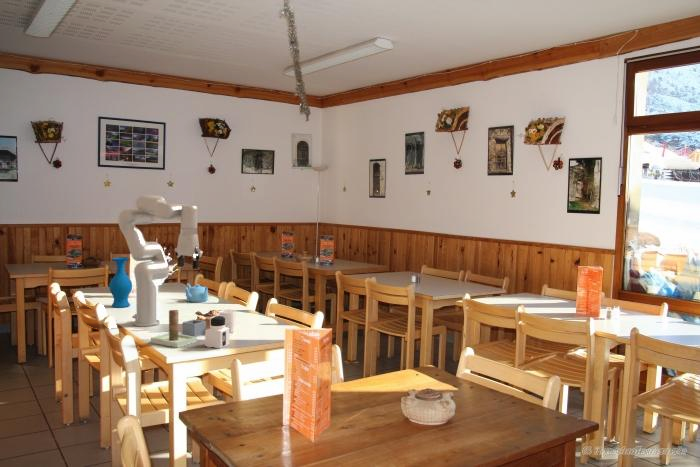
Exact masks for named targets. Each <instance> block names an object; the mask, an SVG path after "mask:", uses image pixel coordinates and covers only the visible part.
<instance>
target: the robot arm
mask: <svg viewBox="0 0 700 467" xmlns="http://www.w3.org/2000/svg"><path fill="white" fill-rule="evenodd" d="M135 206H136V207H127V208H124V209H122V210H121V211H120V212H119V214H118V218H117V222H118V227H119V229H120V231H121V233H122V234H123V236H124V238H125V240H126V244H127V247H128V250H129V252H130V255H131V257H132V259H133V260H134V261H136V262H139V263H137V264H136V265H135V267H134V269H133V271H134V272H133V274H134V279H135V286H136V297H135V298H136V313H134V315H132V317H131V318H132V319H135V320H134V321H133V324H132V325H134V326H135V327H136V326H137V327H152V326H157V325H159V324H160V320H159V319H157V287H156V285H155V283H154V282H153V281H155V280H161V279H166V278H167V277H168V275H170V274H169V273H170V267H169V263H168V261H167V257H166V254H165V253H164V249H163V247H162V245H161V244H160V243H158V242H157V241H146V239H145V237H144V234H143V232H142V231H141V229H139V228H138V227H137V226H136V225H149V224H152V223H153V222H154V221H155V220H156V219H157V218H158V219H162V220H165V221H174V220H175V221H177V220H180V230H179V231H180V233H179V234H178V239H177V240H178V241H177V246H176V247H175V248H174V251H175V256H176V258H177V267H178V268H180V267H184V266H185V258H184V257H185V256H186V257H192V259H193V260H192V270H196V269H199V264H200V263H199V262H200V260H201V258H202V255H203V253H204V252H203V250H201V249H200V243H199V242H200V241H199V235H198V213H199V212H198V206H197V205H193V204H187V203H167V201H166V199H165V198H164V197H163V196H161V195H157V194H155V195H153V194H144V195H140V196H138V197H137V199H135Z"/></svg>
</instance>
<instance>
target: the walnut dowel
mask: <svg viewBox="0 0 700 467" xmlns="http://www.w3.org/2000/svg"><path fill="white" fill-rule="evenodd" d="M168 333H169V340H171V341H175V340H178V334H179V310H177V309H170V310H168Z"/></svg>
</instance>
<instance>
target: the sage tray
mask: <svg viewBox="0 0 700 467" xmlns="http://www.w3.org/2000/svg"><path fill="white" fill-rule="evenodd" d="M150 343H152V344H157V345H161V346H166V347H171V346H172V348H176V347H178V348H181V347H185V346H187V344H188V345H192V344H195V343H198V336H197V337H193V336H188V335H182V334H181V333H178V340H175V341H171V340H169V332H168V333H163V334H160V335H156V336H153V337H150ZM191 343H192V344H191ZM184 345H185V346H184Z"/></svg>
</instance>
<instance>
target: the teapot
mask: <svg viewBox="0 0 700 467" xmlns="http://www.w3.org/2000/svg"><path fill="white" fill-rule="evenodd" d="M186 285H187V287H184V290H185V297H186V300H187V301H188V302H190V303H204V302H207V301H208V299H209V291H208V290H209V286H201V285H200V284H199V283H198V284H197V283H196V284H195V285H194V286H191V284H190V283H188V282H187V283H186Z"/></svg>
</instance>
